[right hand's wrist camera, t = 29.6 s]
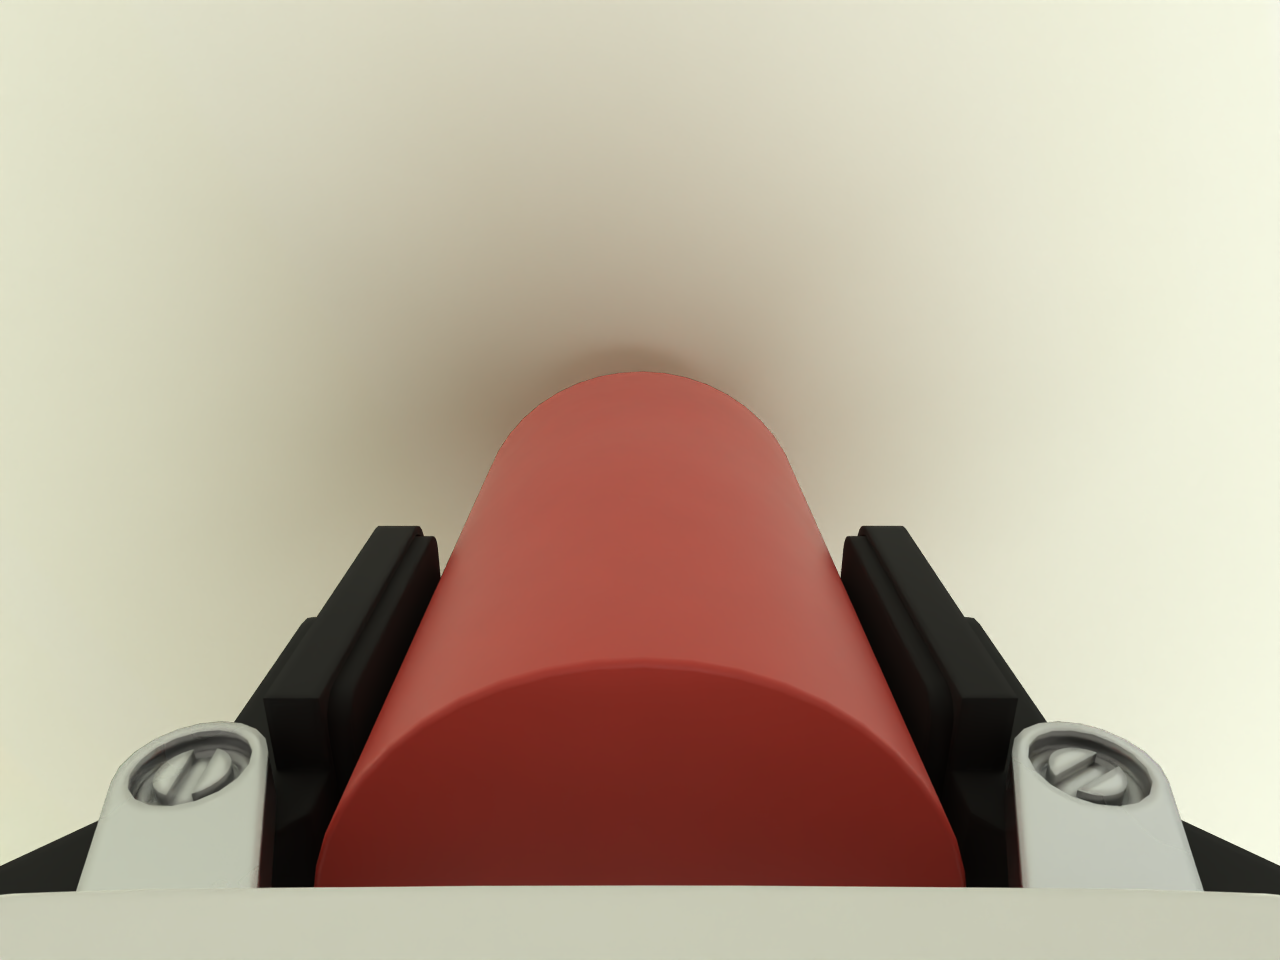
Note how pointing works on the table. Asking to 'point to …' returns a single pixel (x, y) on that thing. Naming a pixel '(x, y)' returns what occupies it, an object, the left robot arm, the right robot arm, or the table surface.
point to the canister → (640, 677)
